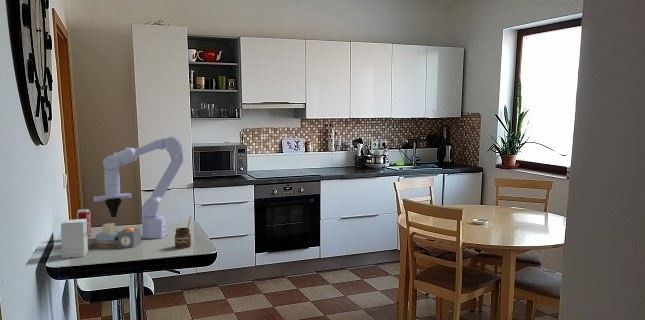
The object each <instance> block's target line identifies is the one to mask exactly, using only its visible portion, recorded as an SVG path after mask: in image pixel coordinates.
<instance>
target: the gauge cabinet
mask: <svg viewBox="0 0 645 320" xmlns="http://www.w3.org/2000/svg"><path fill="white" fill-rule="evenodd" d="M133 228H134V231H126V232H124V228H123V229H121V230H118V231H119V232H118V248H119V249H121V248H122V249H123V248H125V249H126V248H129V249H130V248H133V249H134V248H136V247H137V246H139V245H141V243H142V238H141V236H142V229H141V228H139V227H138V228H135V227H133ZM118 248H117V249H118Z"/></svg>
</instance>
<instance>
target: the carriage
mask: <svg viewBox="0 0 645 320" xmlns="http://www.w3.org/2000/svg"><path fill="white" fill-rule="evenodd" d="M119 231H120V230H116V223H115V222H109V223H104V224H102V232H100V233H97V234H96V235H95V238H96V241H114V240H116V239H118V232H119Z"/></svg>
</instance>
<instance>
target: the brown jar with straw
mask: <svg viewBox="0 0 645 320" xmlns="http://www.w3.org/2000/svg"><path fill="white" fill-rule="evenodd" d="M191 220H192V215H190V216H189V220H188V224H187V227H178V224H182V223H181V220H180V218H178V221H177V223H175V228H176V229H175V234H174V247H175V248H176V249H188V248H189V247H191V245H192V239H191V238H192V237H191V236H192V235H191V233H190V231H191V230H190V228H189V226H190V224H191ZM179 222H180V223H179Z"/></svg>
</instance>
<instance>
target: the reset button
mask: <svg viewBox="0 0 645 320" xmlns="http://www.w3.org/2000/svg"><path fill="white" fill-rule="evenodd" d="M134 228H135V227H131V226H130V227H125V228H123V229H124V232H126V231H134Z"/></svg>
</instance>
